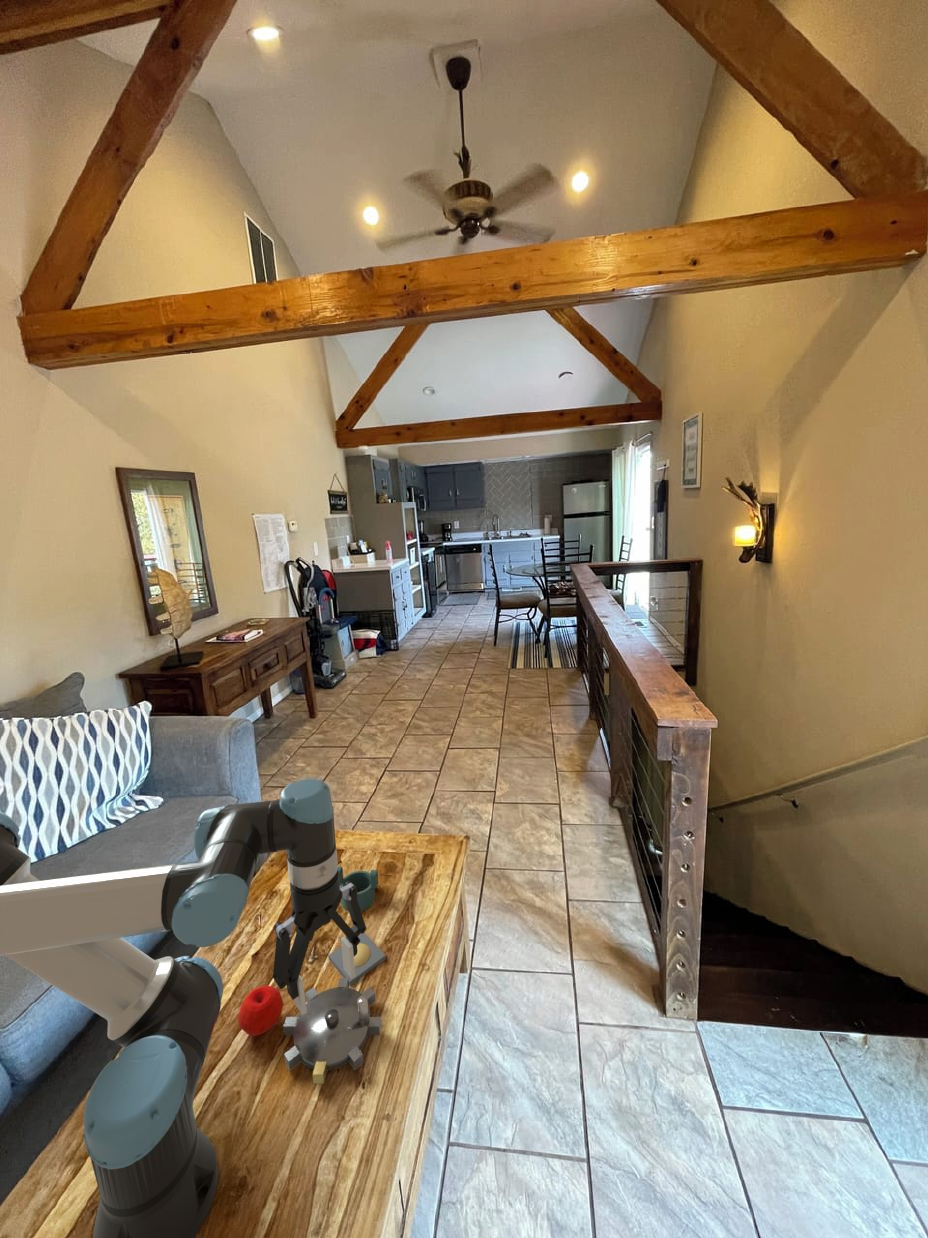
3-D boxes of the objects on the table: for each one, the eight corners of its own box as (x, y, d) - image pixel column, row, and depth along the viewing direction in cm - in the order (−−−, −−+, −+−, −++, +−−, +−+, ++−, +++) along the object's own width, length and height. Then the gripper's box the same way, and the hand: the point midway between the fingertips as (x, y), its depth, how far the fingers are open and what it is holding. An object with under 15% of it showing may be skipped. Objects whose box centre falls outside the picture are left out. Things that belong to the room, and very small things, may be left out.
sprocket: (371, 1083, 86) (368, 1051, 85) (266, 1083, 87) (262, 1051, 85) (388, 986, 104) (386, 957, 102) (301, 986, 104) (298, 958, 103)
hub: (327, 1058, 91) (325, 1038, 90) (311, 1034, 96) (309, 1015, 95) (355, 1034, 95) (354, 1015, 94) (339, 1012, 100) (337, 994, 99)
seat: (350, 985, 105) (349, 981, 105) (328, 959, 111) (328, 954, 111) (385, 959, 111) (385, 955, 111) (363, 935, 117) (363, 931, 117)
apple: (259, 1056, 92) (254, 1024, 90) (231, 1035, 96) (226, 1003, 94) (293, 1018, 99) (289, 987, 97) (266, 999, 103) (262, 969, 101)
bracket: (381, 903, 127) (379, 872, 125) (346, 918, 122) (343, 886, 121) (369, 881, 135) (367, 851, 133) (335, 895, 130) (332, 864, 128)
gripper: (257, 926, 71) (274, 1053, 76) (382, 854, 85) (390, 964, 90) (237, 897, 76) (254, 1017, 81) (358, 834, 90) (366, 939, 95)
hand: (325, 989), depth 86 cm, fingers open, 8 cm apart
